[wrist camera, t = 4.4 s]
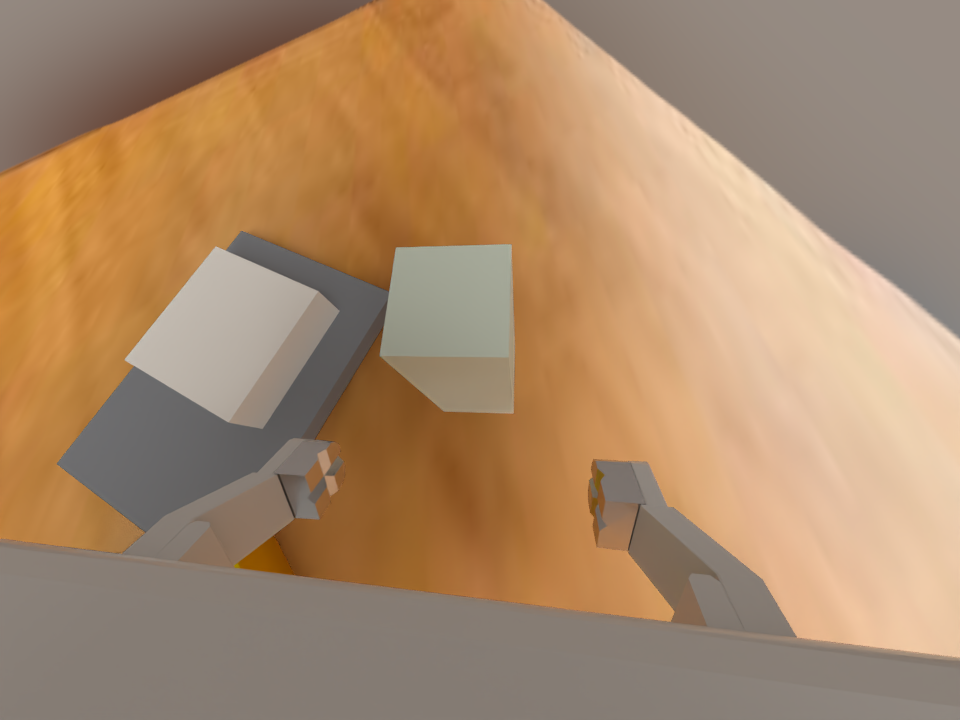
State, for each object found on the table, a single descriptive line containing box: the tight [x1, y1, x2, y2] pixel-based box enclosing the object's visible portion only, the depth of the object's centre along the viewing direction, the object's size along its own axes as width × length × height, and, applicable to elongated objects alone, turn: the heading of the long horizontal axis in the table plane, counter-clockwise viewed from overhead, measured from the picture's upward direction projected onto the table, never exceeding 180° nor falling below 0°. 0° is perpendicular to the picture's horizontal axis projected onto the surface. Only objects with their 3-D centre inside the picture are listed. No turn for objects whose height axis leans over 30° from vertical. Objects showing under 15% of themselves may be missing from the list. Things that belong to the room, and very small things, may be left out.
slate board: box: [57, 231, 389, 532], centre depth 25 cm, size 22×16×4 cm
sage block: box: [380, 244, 515, 414], centre depth 19 cm, size 5×5×12 cm
